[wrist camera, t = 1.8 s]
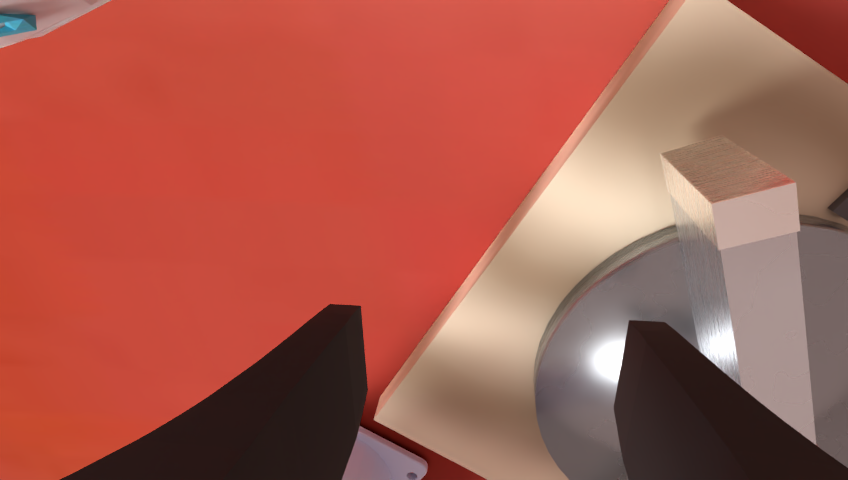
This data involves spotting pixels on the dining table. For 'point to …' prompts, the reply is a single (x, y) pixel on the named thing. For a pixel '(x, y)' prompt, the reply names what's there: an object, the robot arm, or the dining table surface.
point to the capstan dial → (707, 309)
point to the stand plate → (612, 219)
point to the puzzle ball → (38, 17)
